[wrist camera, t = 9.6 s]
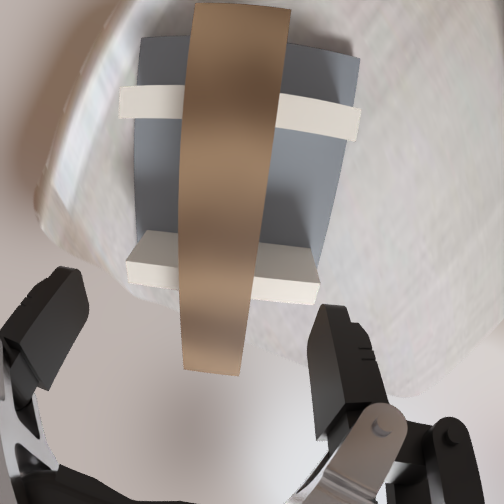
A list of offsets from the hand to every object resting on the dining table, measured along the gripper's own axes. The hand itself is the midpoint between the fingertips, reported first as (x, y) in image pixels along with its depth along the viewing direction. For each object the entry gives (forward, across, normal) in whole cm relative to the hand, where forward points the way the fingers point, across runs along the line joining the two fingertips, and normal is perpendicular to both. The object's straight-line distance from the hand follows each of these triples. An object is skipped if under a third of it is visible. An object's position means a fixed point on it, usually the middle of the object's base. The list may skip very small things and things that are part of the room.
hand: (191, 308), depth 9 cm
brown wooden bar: (+10, 0, +1) cm, 10 cm away
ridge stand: (+16, 0, +1) cm, 16 cm away
